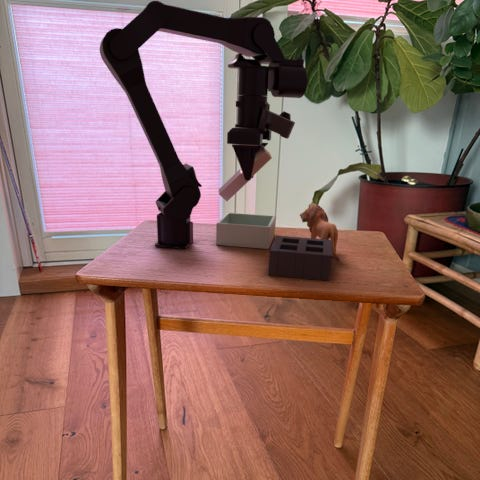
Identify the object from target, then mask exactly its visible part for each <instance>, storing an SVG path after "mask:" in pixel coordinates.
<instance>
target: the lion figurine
mask: <svg viewBox="0 0 480 480" xmlns="http://www.w3.org/2000/svg"><path fill="white" fill-rule="evenodd" d="M299 217H300V219H301V222H302V223H306V226H307V227H308V229H309V232H310V238H313V239H317V237H318V238H319V239H326V240H332V258H334V259H335V261H337V262H341V258H340V257H339V256H338V254H337V244H338V238H339V231H338V228H337V225H336V224H335V223H332V222H329V217H328V214H327V213H326V212H325V209H323V207H321V206H320V205H318V203H309V204H308V207H307V208H306V209H305V210H304V211H303V212H301V213H300V214H299Z"/></svg>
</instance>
